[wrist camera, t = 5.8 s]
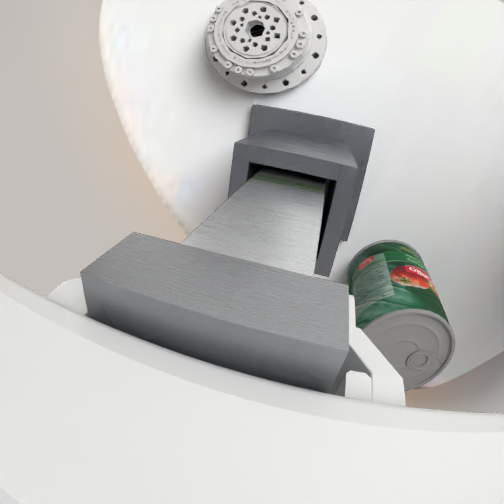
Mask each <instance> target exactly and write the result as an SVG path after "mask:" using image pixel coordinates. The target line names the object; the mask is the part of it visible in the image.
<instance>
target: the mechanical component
mask: <svg viewBox="0 0 504 504" xmlns="http://www.w3.org/2000/svg"><path fill="white" fill-rule="evenodd" d="M302 4H303V5H302ZM285 17H286V18H287V19H288V20H287V19H286V18H285ZM314 18H316V19H318V20H316V21H313V20H312V19H314ZM288 21H289V22H288ZM254 25H262V26H263V27H264V28H263V29H260V30H257V31H255V30H253V31H252V32H250V30H251V28H252V27H253V26H254ZM274 29H275V30H274ZM257 33H258V34H261V33H263V34H262V36H258V37H256V35H257ZM278 37H280V39H279V38H278ZM319 37H321V39H319ZM205 42H206V49H207V56H208V58H209V60H210V62H211V64H212V66H213V67H214V69H215V70H216V71H217V73H218V74H219V75H220V76H221V77H222V78H223V79H224V80H226V81H227V82H229V83H230V84H231V85H233V86H235V87H237V88H240V89H242V90H244V91H249V92H254V93H269V94H273V93H279V92H284V91H287V90H290V89H292V88H295V87H297V86H299V85H300V84H302V83H303V82H305V81H306V80H308V79H309V78H310V76H311V75H312V74H313V73H314V72H315V71H316V70H317V69H318V68H319V67H320V64H321V62H322V59H323V57H324V54H325V52H326V46H327V36H326V28H325V25H324V22H323V19H322V17H321V15H320V13H319V12H318V10H317V9H316V7H315V6H314V5H313V4H312V3H311V2H310V1H309V0H225V1H224V2H223V3H222V4H221V5H220V6H216V8H215V12H214V14H213V15H212V16H211V17H210V22H209V24H208V27H207V33H206V40H205ZM249 49H250V50H249ZM265 49H267V50H266V51H264V50H265ZM314 54H317V55H319V57H318V58H316V59H315V58H314V57H313V56H314ZM217 60H218V61H217ZM303 71H306V74H302V72H303ZM285 81H289V85H287V86H285V84H284V82H285ZM245 82H247V83H248V84H247V85H246V86H245V85H244V84H245ZM265 86H267V88H266V89H265Z"/></svg>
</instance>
